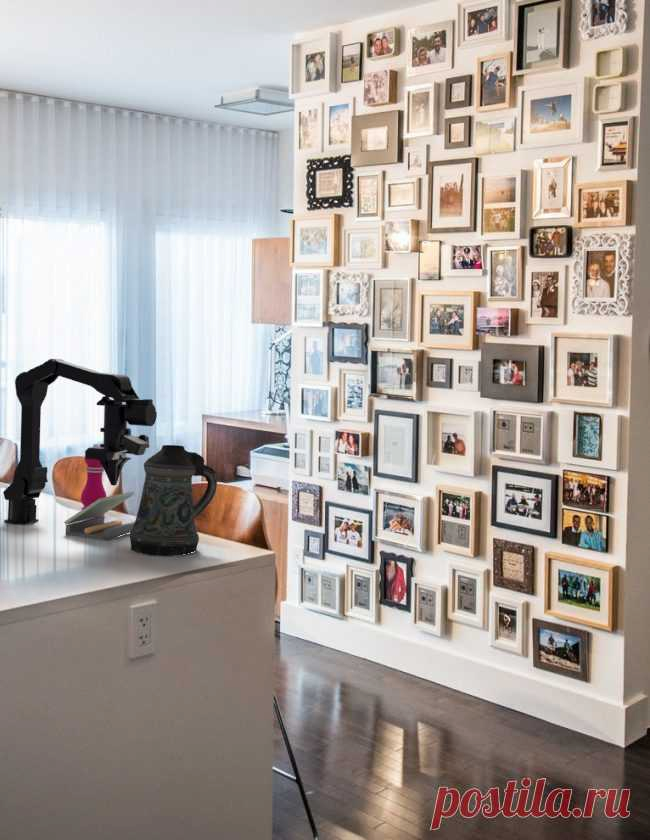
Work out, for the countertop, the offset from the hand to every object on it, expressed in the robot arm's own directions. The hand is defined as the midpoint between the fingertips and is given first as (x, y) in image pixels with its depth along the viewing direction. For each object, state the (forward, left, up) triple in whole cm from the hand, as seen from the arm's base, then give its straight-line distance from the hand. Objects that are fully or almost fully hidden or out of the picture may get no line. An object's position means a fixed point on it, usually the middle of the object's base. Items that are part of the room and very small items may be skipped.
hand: (113, 485), depth 258 cm
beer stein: (+21, -8, -13) cm, 26 cm away
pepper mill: (-19, +22, -13) cm, 32 cm away
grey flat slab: (-2, 0, -13) cm, 13 cm away
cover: (-3, 0, -6) cm, 7 cm away
